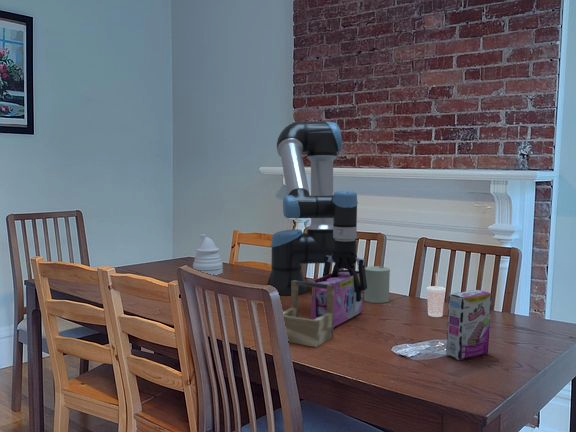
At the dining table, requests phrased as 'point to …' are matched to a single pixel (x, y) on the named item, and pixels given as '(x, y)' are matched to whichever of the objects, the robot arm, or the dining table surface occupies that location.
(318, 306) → the gum box
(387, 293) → the can
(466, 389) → the dining table surface
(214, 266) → the honey pot
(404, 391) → the dining table surface
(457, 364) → the dining table surface
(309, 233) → the robot arm
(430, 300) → the beverage cup
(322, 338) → the dispenser
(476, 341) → the candy bar box
